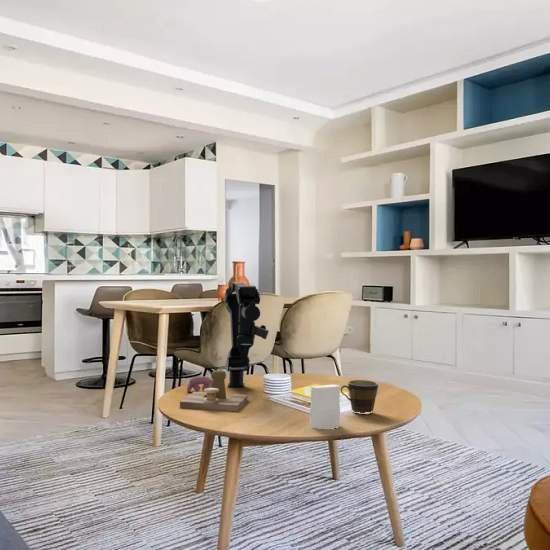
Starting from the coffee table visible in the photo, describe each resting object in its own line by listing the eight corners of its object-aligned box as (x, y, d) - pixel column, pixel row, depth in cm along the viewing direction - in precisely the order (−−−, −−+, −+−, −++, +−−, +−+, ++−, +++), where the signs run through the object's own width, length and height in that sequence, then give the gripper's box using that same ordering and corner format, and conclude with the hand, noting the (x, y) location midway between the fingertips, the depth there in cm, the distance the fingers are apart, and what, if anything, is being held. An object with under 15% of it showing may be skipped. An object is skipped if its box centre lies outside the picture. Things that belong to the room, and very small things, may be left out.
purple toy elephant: (213, 396, 207) (215, 378, 210) (211, 393, 203) (213, 374, 206) (188, 394, 207) (190, 377, 210) (185, 391, 203) (187, 373, 206)
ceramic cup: (369, 408, 187) (370, 379, 187) (382, 415, 177) (383, 385, 177) (334, 410, 184) (335, 380, 184) (346, 417, 174) (347, 386, 174)
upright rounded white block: (328, 420, 170) (329, 382, 170) (345, 427, 162) (346, 388, 162) (304, 423, 166) (305, 384, 166) (320, 431, 158) (321, 390, 158)
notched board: (194, 396, 197) (194, 380, 197) (247, 400, 194) (248, 383, 194) (179, 407, 181) (180, 389, 181) (237, 411, 178) (238, 393, 178)
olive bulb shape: (224, 398, 196) (225, 368, 195) (228, 402, 190) (229, 371, 190) (208, 399, 194) (209, 369, 194) (211, 403, 188) (212, 372, 188)
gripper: (267, 321, 194) (266, 365, 194) (267, 317, 212) (266, 357, 212) (236, 320, 193) (235, 364, 193) (239, 316, 212) (238, 356, 212)
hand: (245, 360), depth 203 cm, fingers open, 9 cm apart
